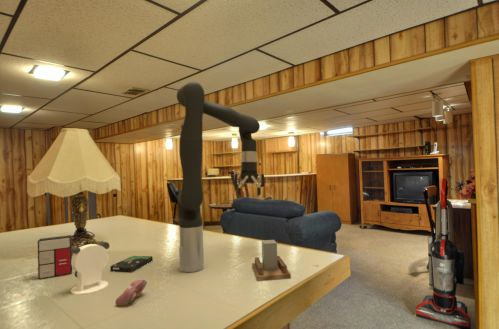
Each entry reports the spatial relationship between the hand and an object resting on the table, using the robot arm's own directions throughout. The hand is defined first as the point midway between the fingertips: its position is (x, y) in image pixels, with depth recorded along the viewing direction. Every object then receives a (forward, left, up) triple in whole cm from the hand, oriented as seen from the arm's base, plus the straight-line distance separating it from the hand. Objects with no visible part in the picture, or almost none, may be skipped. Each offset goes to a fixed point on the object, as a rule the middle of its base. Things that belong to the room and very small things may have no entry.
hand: (249, 196), depth 134 cm
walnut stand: (+4, -25, -27) cm, 37 cm away
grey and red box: (-80, -10, -27) cm, 85 cm away
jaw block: (+4, -25, -26) cm, 36 cm away
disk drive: (-52, -5, -28) cm, 59 cm away
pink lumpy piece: (-42, -39, -27) cm, 64 cm away
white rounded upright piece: (-60, -26, -27) cm, 71 cm away
